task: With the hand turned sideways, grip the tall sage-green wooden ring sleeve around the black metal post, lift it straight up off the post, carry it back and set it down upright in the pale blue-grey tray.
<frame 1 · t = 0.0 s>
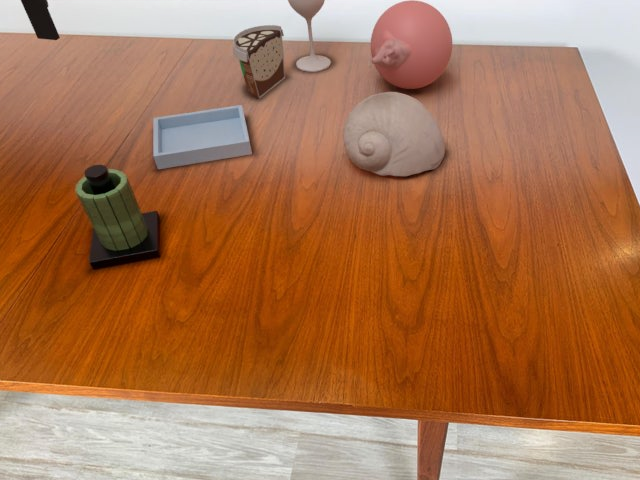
hand: (13, 62, 69), 25 cm above the table, tool pointing down, fingers open, 13 cm apart
seashell: (395, 157, 98), on the table
ring sleeve: (124, 235, 82), point 1 cm above the table, touching post
wineglass: (313, 64, 122), on the table
tray: (203, 142, 102), on the table
balloon: (403, 89, 114), on the table
post: (128, 243, 84), on the table
food container: (260, 86, 116), on the table
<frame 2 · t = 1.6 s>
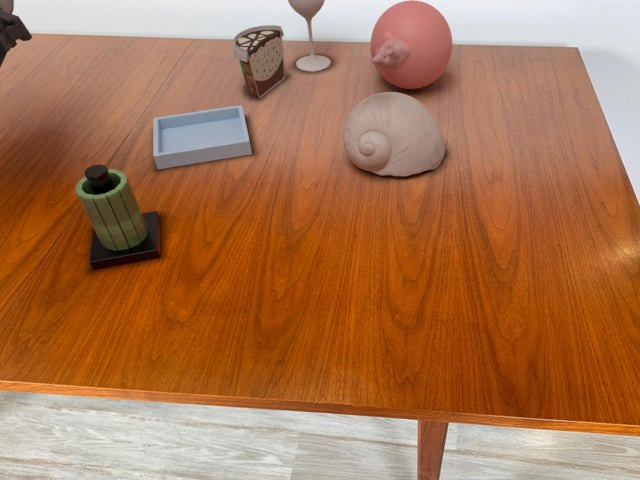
nothing on the table moved.
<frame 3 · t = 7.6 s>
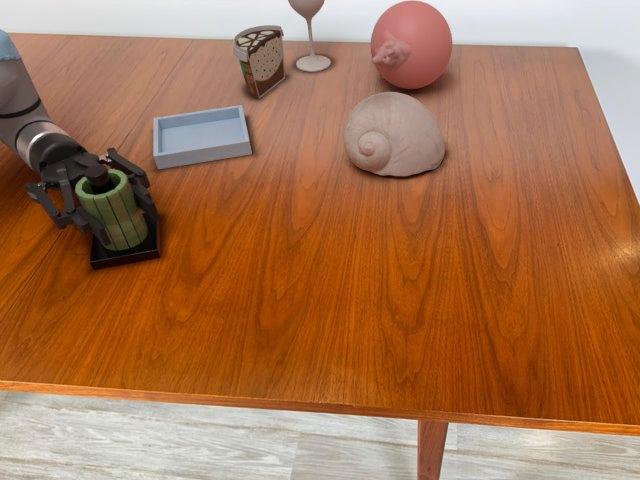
hand: (130, 223, 76), 6 cm above the table, tool horizontal, fingers closed on ring sleeve, 6 cm apart
ring sleeve: (124, 235, 82), point 2 cm above the table, touching gripper, post
everything else where it was.
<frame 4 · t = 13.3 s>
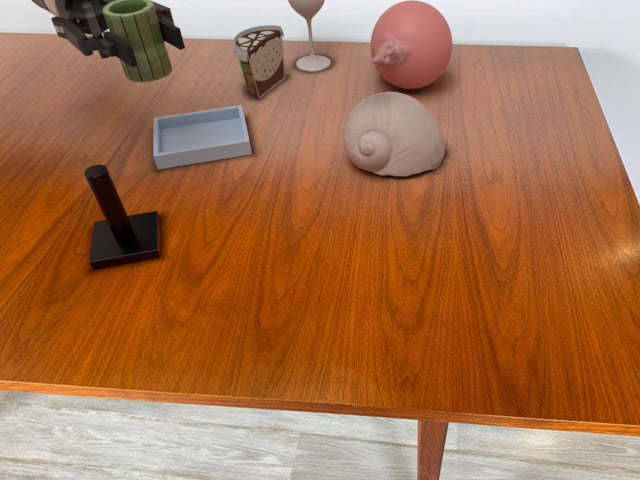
hand: (156, 47, 77), 22 cm above the table, tool horizontal, fingers closed on ring sleeve, 6 cm apart
ring sleeve: (149, 71, 83), point 17 cm above the table, touching gripper
everything else where it was.
when the fingers open (6 cm above the table, at t = 19.3 s): ring sleeve stays where it is, resting on tray.
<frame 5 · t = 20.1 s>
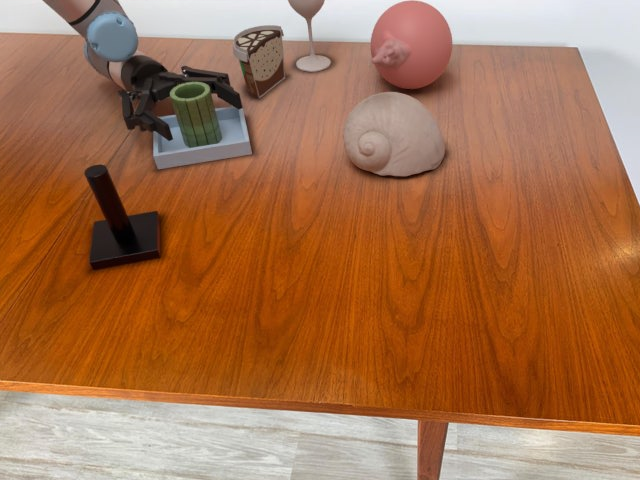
hand: (205, 116, 96), 6 cm above the table, tool horizontal, fingers open, 13 cm apart
ring sleeve: (203, 139, 101), point 1 cm above the table, touching tray
everything else where it was.
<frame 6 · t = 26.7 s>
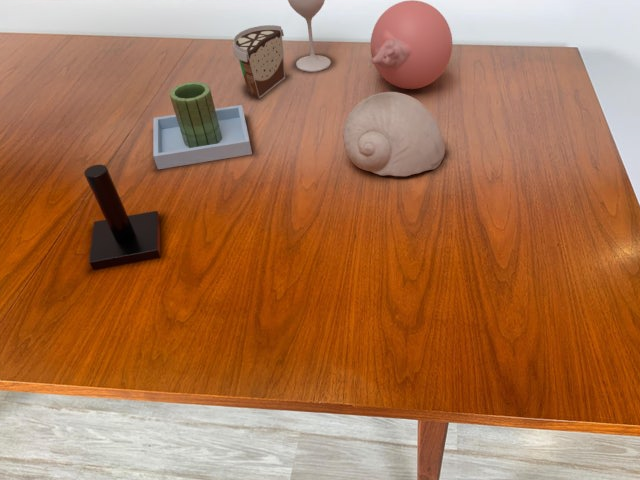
nothing on the table moved.
at the end: ring sleeve inside the target area in the tray (0.1 cm from its centre), point 0.6 cm above the tray's base; ring sleeve tilted 0°; ring sleeve touching tray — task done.
